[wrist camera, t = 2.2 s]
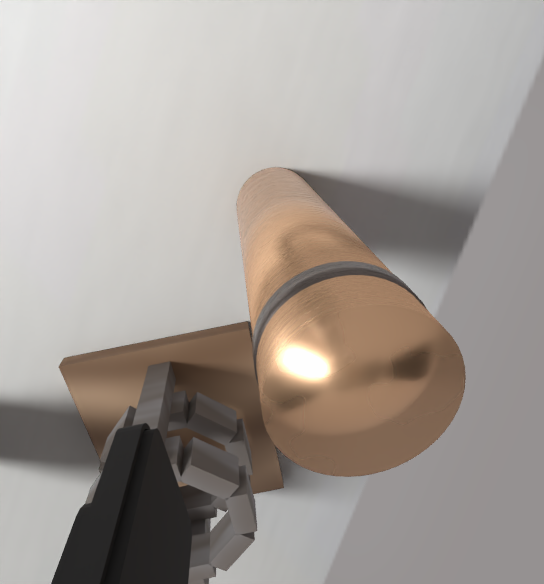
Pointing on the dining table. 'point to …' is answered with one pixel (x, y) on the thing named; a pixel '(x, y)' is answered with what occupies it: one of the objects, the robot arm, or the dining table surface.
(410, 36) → the dining table surface
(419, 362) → the copper tube
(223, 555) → the collar stand
